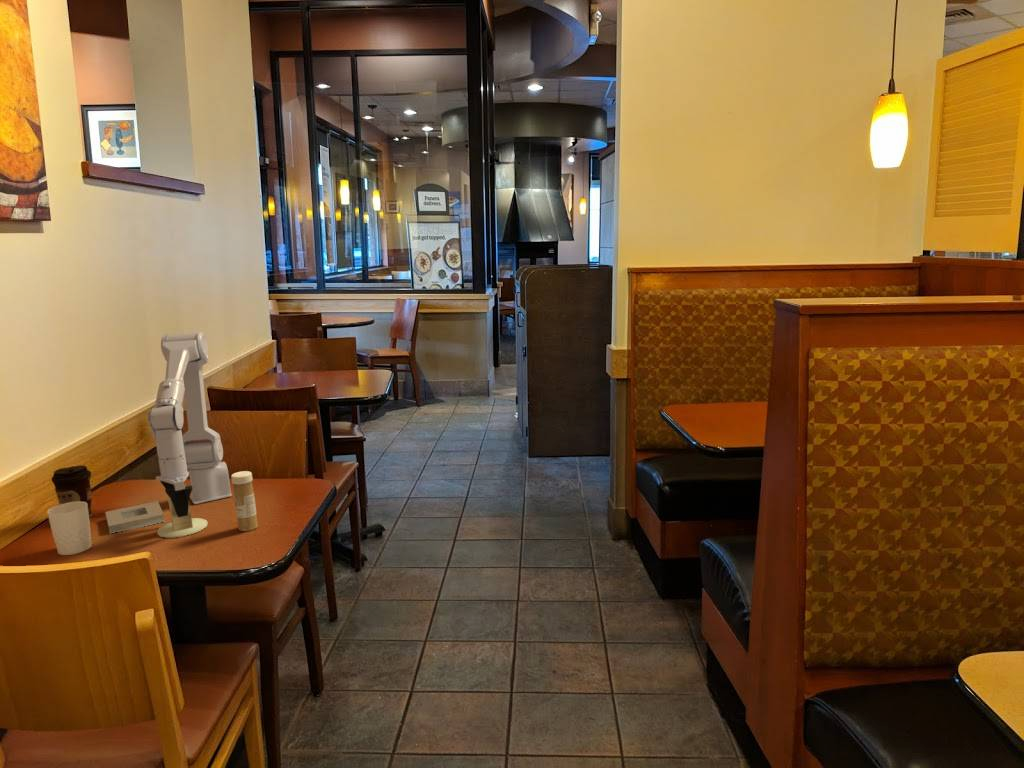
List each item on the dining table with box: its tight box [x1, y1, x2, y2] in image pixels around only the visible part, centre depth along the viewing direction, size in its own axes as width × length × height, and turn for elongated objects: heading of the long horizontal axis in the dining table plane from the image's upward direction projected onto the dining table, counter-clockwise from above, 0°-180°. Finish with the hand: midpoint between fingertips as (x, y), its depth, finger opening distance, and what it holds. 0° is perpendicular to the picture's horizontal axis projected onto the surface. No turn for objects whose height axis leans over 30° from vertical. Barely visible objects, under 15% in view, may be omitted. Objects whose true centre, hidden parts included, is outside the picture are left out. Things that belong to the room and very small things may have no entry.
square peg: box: [166, 494, 193, 531], centre depth 180 cm, size 4×4×8 cm
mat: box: [156, 517, 209, 539], centre depth 181 cm, size 11×11×1 cm
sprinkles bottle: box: [230, 470, 259, 532], centre depth 177 cm, size 5×5×13 cm
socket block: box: [104, 500, 166, 535], centre depth 188 cm, size 12×12×2 cm
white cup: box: [46, 501, 92, 556], centre depth 171 cm, size 8×8×10 cm
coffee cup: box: [51, 465, 93, 516], centre depth 191 cm, size 9×8×13 cm
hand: (180, 511), depth 180 cm, fingers open, 7 cm apart
